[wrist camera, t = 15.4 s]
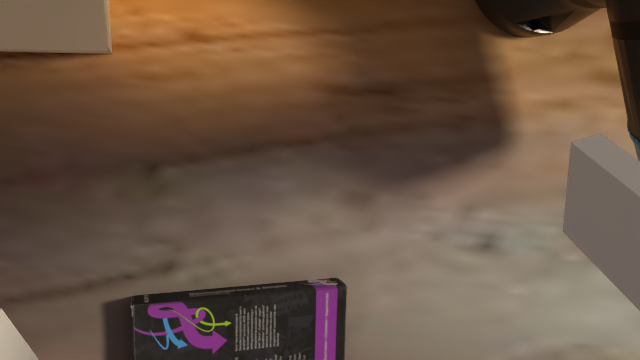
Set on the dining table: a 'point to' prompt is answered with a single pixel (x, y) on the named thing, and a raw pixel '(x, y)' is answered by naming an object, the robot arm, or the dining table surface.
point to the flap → (53, 25)
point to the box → (243, 323)
